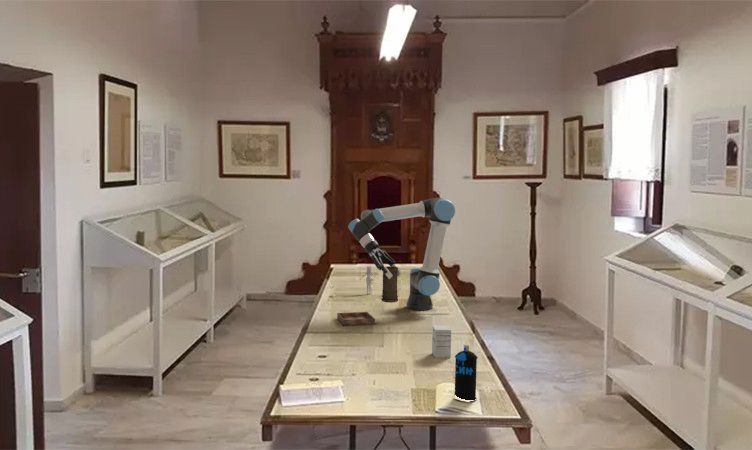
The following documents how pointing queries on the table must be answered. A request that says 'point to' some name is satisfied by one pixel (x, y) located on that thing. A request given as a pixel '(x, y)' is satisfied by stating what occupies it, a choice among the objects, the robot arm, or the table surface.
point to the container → (390, 286)
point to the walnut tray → (355, 318)
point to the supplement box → (441, 342)
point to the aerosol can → (465, 374)
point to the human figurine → (368, 278)
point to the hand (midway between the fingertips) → (395, 276)
